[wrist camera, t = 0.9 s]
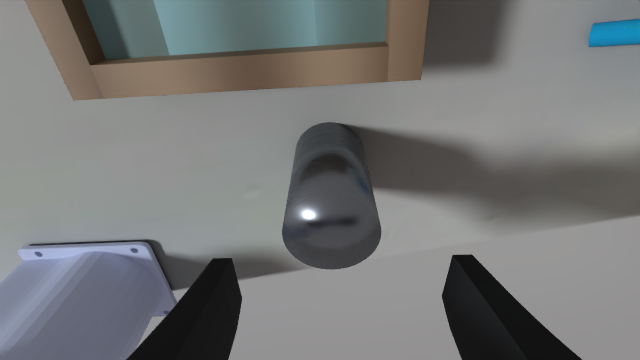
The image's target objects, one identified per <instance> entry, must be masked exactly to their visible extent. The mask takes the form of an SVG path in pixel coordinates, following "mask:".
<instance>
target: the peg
mask: <svg viewBox="0 0 640 360" xmlns="http://www.w3.org/2000/svg"><path fill="white" fill-rule="evenodd" d="M282 236H283V240H284V243H285V246H286V247H287V249H288V250H289V252H290V253H291V254H292V255H293V256H294V257H295V258H297V259H298V260H300V261H301V262H303V263H305V264H307V265H310V266H313V267H316V268H321V269H341V268H346V267H350V266H353V265H356V264H358V263H360V262H362V261H363V260H365V259H366V258H367V257H369V256H370V255H371V254H372V253H373V252H374V250H375V249H376V248H377V246H378V244H379V241H380V238H381V226H380V221H379V217H378V212H377V208H376V203H375V199H374V194H373V190H372V186H371V181H370V177H369V172H368V168H367V163H366V159H365V155H364V150H363V146H362V143H361V140H360V138H359V137H358V136H357V134H356V133H355V132H354V131H353V130H351V129H350V128H348V127H347V126H344V125H342V124H338V123H321V124H318V125H315V126H313V127H311V128H309V129H308V130H307V131H306V132H304V133H303V135H302V136H301V137H300V139H299V141H298V143H297V146H296V151H295V157H294V163H293V169H292V175H291V181H290V187H289V193H288V199H287V204H286V210H285V216H284V222H283V229H282Z"/></svg>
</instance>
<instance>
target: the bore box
mask: <svg viewBox="0 0 640 360" xmlns="http://www.w3.org/2000/svg"><path fill="white" fill-rule="evenodd" d="M25 2H26V4H27V6H28V8H29V10H30V12H31V14H32V16H33V18H34V21H35V23H36V25H37V27H38V29H39V31H40V33H41V35H42V37H43V39H44V41H45V43H46V45H47V47H48V49H49V51H50V53H51V55H52V57H53V60H54V62H55V64H56V66H57V68H58V70H59V72H60V74H61V76H62V78H63V80H64V82H65V84H66V86H67V88H68V90H69V92H70V94H71V96H72V99H73V100H89V99H105V98H122V97H139V96H156V95H172V94H189V93H206V92H223V91H239V90H256V89H273V88H290V87H307V86H323V85H340V84H357V83H374V82H390V81H407V80H421V75H422V66H423V56H424V47H425V37H426V28H427V18H428V9H429V0H25Z"/></svg>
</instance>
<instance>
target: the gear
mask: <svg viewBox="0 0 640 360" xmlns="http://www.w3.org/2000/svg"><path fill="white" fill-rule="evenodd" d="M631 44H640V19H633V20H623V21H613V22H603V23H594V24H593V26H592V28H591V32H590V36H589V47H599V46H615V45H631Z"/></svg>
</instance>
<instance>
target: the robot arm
mask: <svg viewBox="0 0 640 360" xmlns="http://www.w3.org/2000/svg"><path fill="white" fill-rule="evenodd" d="M18 254H19V255H20V257H21V258H22V259H23V260H24V261H23V262H22V263H21V264H20V265H19V266H18V267H17V268H16V269H14V270H13V271H12V272H11V273H10V274H9V275H8V276H7V277H6V278H5V279H4V280H3V281H2V282H1V283H0V360H228V358H229V355H230V352H231V348H232V345H233V341H234V338H235V334H236V330H237V325H238V320H239V314H240V308H241V302H242V296H241V292H240V288H239V285H238V281H237V277H236V273H235V269H234V265H233V261H232V258H214V259H212V260H211V261H210V263H209V264H208V265H207V267H206V268H205V269H204V270H203V272H202V273H201V274H200V275H199V277H198V278H197V279H196V281H195V282H194V283H193V284H192V286H191V287H190V288H189V289H188V291H187V292H186V293H185V294H184V296H183V297H182V298H181V299H180V300H179V302H178V303H177V301H176V299H175V297H174V295H173V293H172V291H171V288H170V286H169V284H168V282H167V280H166V278H165V276H164V274H163V272H162V269H161V267H160V265H159V263H158V261H157V259H156V257H155V255H154V253H153V250H152V248H151V246H150V245H149V244H148V243H146V242H118V243H93V244H67V245H42V246H24V247H22V248H21V249H20V250H19V251H18ZM442 299H443V303H444V307H445V311H446V315H447V318H448V322H449V326H450V329H451V332H452V334H453V337H454V340H455V343H456V345H457V348H458V350H459V353H460V356H461V358H462V360H582V359H581V358H580V357H578V356H577V355H576V354H575V353H574V352H572V351H571V350H570V349H569V348H568V347H567V346H565V345H564V344H563V343H562V342H561V341H560V340H559V339H558V338H556V337H555V336H554V335H553V334H552V333H551V332H550V331H549V330H547V329H546V328H545V327H544V326H543V325H542V324H541V323H540V322H539V321H538V320H537V319H535V317H534V316H532V315H531V314H530V313H529V312H528V311H527V310H526V309H525V308H524V307H523V306H522V305H521V304H520V303H519V302H518V301H517V300H516V299H515V298H514V297H513V296H512V295H511V294H510V293H509V292H508V291H507V290H506V289H505V288H504V287H503V286H502V285H501V284H500V283H499V282H498V281H497V280H496V279H495V278H494V277H493V276H492V275H491V274H490V273H489V272H488V271H487V270H486V269H485V268H484V267H483V265H481V263H479V261H478V260H477V259H476V258H475V257H474V256H473V255H453V256H452V259H451V263H450V267H449V271H448V275H447V278H446V283H445V286H444V290H443V294H442ZM152 316H166V317H165V318H164V319H163V320H162V322H161V323H160V324H159V325H158V326H157V327H156V328H155V329H154V331H152V333H151V334H150V335H149V336H148V337H147V338H146V339H145V340H144V341H143V342H142V343H141V344H140V346H139V347H138V348H137V346H138V344H139V342H140V340H141V338H142V336H143V334H144V332H145V330H146V328H147V326H148V324H149V322H150V320H151V318H152ZM136 348H137V349H136Z"/></svg>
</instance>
